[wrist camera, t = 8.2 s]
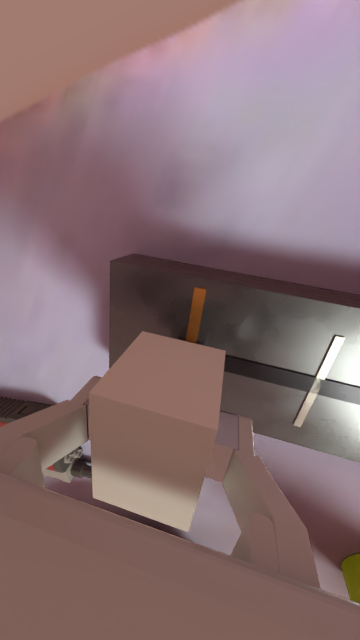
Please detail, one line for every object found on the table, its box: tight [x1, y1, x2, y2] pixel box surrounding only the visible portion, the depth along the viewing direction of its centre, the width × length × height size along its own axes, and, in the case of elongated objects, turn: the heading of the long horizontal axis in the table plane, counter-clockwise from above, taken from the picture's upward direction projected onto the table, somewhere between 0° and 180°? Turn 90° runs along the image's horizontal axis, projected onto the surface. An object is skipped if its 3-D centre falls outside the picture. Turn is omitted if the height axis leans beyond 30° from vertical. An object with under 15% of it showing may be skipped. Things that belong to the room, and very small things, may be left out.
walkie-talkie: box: [0, 397, 92, 483], centre depth 23 cm, size 9×4×20 cm
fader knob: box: [89, 331, 226, 532], centre depth 10 cm, size 4×5×7 cm
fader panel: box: [109, 254, 360, 462], centre depth 14 cm, size 24×9×3 cm, turn 82°
